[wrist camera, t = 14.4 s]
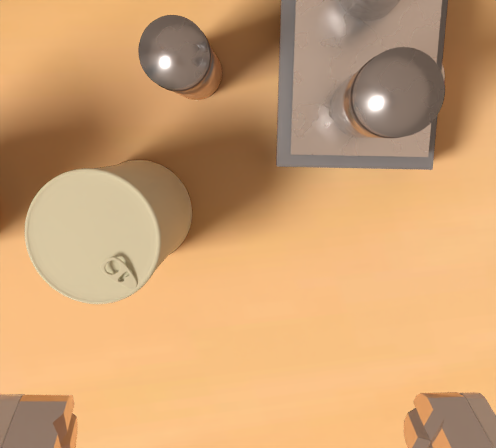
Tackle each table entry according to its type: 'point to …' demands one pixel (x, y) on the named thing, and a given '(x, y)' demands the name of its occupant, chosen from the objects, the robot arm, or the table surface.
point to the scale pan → (351, 71)
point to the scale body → (286, 110)
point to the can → (106, 228)
